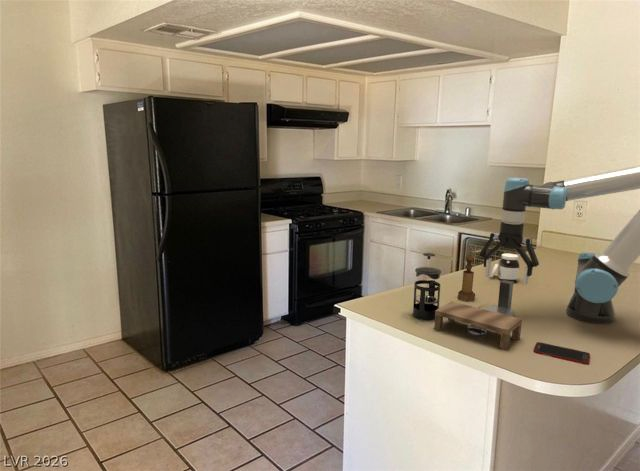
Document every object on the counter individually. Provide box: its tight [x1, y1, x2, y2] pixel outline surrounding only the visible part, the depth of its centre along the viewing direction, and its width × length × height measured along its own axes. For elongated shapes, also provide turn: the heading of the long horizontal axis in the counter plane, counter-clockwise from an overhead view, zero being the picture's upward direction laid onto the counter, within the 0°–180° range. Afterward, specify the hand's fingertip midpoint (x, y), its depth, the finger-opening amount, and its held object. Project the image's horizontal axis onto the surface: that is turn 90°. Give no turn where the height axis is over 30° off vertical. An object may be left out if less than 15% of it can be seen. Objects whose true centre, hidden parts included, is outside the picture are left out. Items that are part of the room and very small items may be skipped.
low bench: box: [433, 300, 523, 351], centre depth 153 cm, size 24×12×6 cm, turn 49°
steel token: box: [466, 324, 487, 338], centre depth 154 cm, size 6×6×2 cm
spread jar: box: [488, 253, 521, 283], centre depth 212 cm, size 12×11×12 cm
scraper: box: [483, 280, 514, 317], centre depth 165 cm, size 8×19×12 cm, turn 139°
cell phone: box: [533, 341, 591, 366], centre depth 140 cm, size 8×15×1 cm, turn 58°
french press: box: [411, 252, 442, 322], centre depth 167 cm, size 12×9×23 cm
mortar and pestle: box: [457, 254, 476, 302], centre depth 185 cm, size 7×6×18 cm
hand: (505, 280), depth 169 cm, fingers open, 13 cm apart
